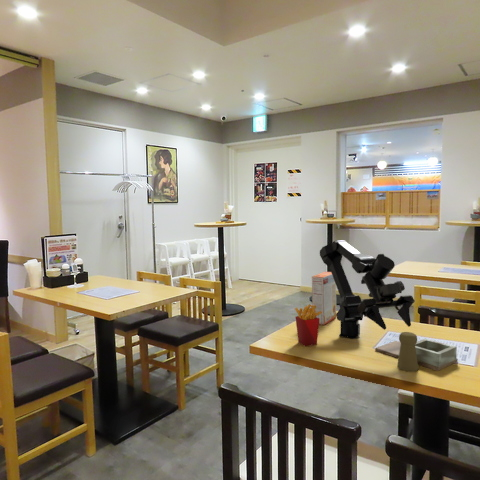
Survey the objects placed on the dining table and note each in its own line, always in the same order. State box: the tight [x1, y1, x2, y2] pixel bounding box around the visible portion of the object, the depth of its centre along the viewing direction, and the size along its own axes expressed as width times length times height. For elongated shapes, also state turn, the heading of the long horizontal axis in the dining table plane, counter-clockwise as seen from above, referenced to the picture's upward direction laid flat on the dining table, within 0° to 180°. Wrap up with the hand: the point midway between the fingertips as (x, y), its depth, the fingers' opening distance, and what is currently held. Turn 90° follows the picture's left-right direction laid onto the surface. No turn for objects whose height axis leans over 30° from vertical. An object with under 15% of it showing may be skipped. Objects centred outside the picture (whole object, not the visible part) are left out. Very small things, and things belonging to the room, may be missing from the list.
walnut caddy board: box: [374, 338, 459, 372], centre depth 132 cm, size 22×12×5 cm, turn 35°
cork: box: [396, 331, 419, 373], centre depth 122 cm, size 6×6×11 cm
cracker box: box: [311, 271, 337, 326], centre depth 175 cm, size 14×6×21 cm, turn 145°
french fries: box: [294, 303, 322, 347], centre depth 145 cm, size 9×8×15 cm
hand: (397, 327), depth 126 cm, fingers open, 9 cm apart
